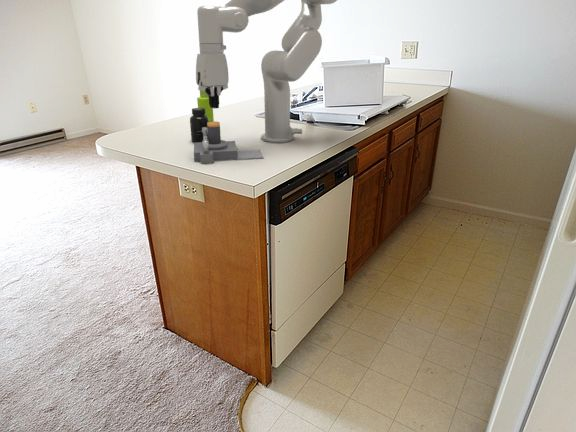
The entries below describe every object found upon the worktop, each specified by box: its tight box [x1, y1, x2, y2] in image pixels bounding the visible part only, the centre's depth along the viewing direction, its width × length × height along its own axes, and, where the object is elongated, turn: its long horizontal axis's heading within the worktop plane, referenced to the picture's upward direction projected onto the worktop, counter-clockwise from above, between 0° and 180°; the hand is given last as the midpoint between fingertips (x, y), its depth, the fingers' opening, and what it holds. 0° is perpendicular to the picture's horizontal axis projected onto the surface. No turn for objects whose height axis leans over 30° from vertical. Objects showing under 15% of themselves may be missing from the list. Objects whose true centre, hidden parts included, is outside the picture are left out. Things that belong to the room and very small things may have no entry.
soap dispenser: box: [196, 87, 215, 122], centre depth 167 cm, size 6×7×20 cm
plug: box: [207, 120, 227, 149], centre depth 138 cm, size 8×8×11 cm
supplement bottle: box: [189, 107, 209, 143], centre depth 154 cm, size 7×7×12 cm
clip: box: [202, 127, 209, 153], centre depth 136 cm, size 2×13×5 cm, turn 11°
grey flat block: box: [193, 140, 238, 165], centre depth 139 cm, size 14×14×3 cm
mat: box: [235, 149, 264, 161], centre depth 141 cm, size 9×9×1 cm
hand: (214, 107), depth 140 cm, fingers closed
